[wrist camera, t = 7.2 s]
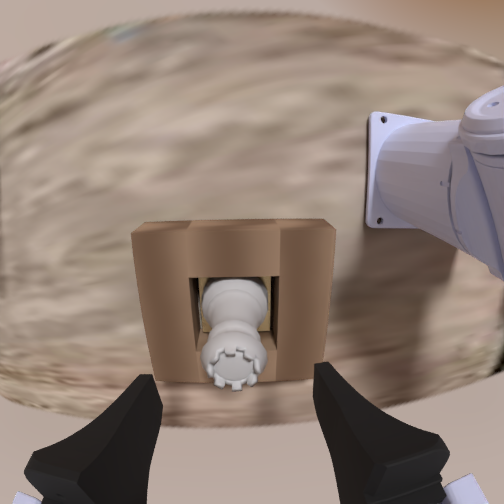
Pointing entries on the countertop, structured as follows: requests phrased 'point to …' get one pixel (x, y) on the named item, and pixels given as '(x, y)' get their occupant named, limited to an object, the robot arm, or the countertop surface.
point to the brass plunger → (267, 283)
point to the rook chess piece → (234, 330)
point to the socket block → (235, 265)
